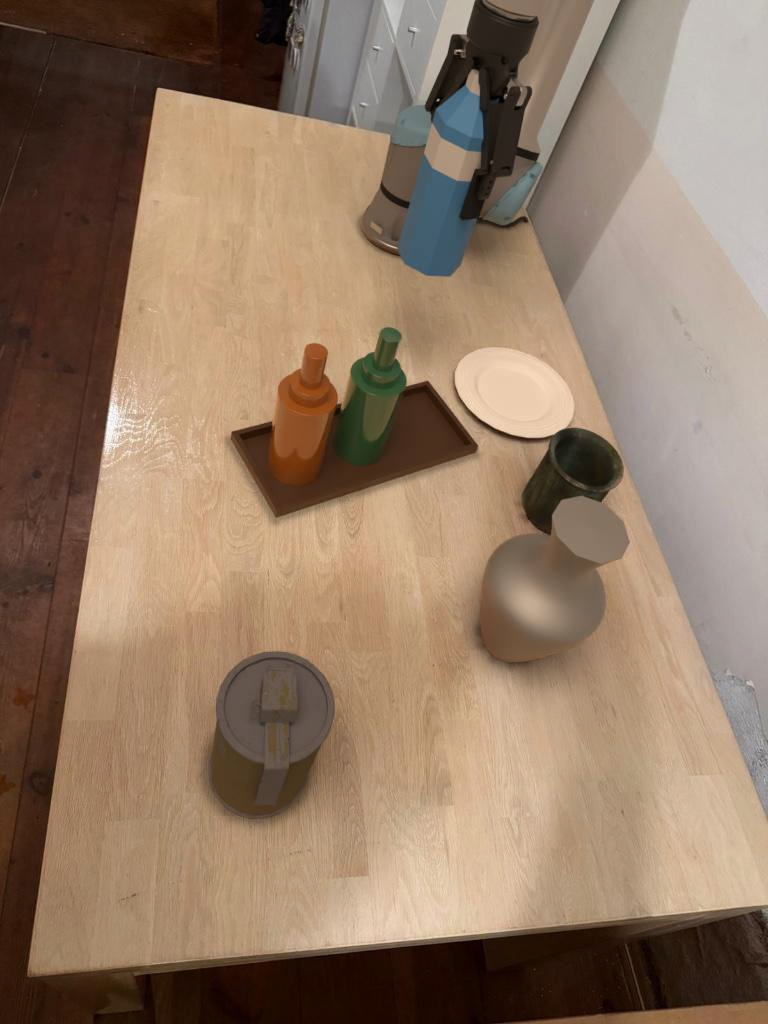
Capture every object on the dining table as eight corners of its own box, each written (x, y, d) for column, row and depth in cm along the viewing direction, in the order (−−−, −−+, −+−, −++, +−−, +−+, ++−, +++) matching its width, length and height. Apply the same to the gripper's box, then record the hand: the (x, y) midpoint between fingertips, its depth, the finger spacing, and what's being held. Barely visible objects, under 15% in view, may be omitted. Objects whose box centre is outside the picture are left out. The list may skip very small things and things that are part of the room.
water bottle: (461, 248, 109) (525, 68, 90) (458, 284, 103) (525, 101, 84) (400, 231, 108) (451, 46, 89) (394, 266, 102) (447, 76, 83)
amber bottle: (305, 438, 107) (329, 324, 91) (330, 477, 104) (359, 365, 87) (257, 452, 104) (273, 335, 87) (281, 492, 100) (302, 379, 84)
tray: (424, 389, 120) (428, 380, 118) (474, 454, 114) (478, 445, 112) (230, 441, 104) (231, 431, 103) (275, 520, 98) (277, 510, 97)
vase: (531, 715, 90) (631, 616, 70) (431, 647, 92) (501, 533, 73) (575, 631, 98) (674, 522, 79) (482, 571, 101) (557, 451, 81)
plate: (583, 390, 129) (588, 382, 127) (551, 465, 116) (556, 457, 114) (476, 337, 131) (479, 329, 129) (432, 406, 118) (435, 397, 116)
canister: (211, 719, 81) (220, 635, 65) (306, 720, 83) (337, 638, 67) (205, 825, 74) (213, 759, 59) (308, 822, 77) (343, 758, 61)
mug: (577, 483, 115) (613, 431, 106) (599, 562, 106) (640, 513, 97) (511, 476, 113) (542, 422, 103) (528, 557, 104) (563, 506, 95)
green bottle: (367, 421, 112) (400, 309, 96) (393, 457, 109) (431, 348, 92) (323, 433, 108) (350, 320, 92) (348, 471, 105) (380, 361, 89)
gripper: (429, -39, 85) (384, 152, 102) (541, 53, 75) (470, 248, 92) (481, -34, 88) (429, 150, 105) (594, 54, 78) (516, 241, 96)
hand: (448, 195), depth 99 cm, fingers closed on water bottle, 9 cm apart
